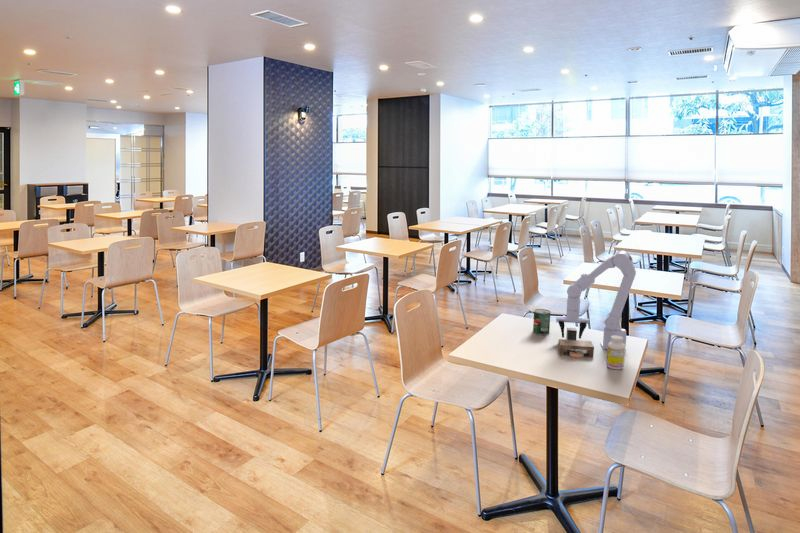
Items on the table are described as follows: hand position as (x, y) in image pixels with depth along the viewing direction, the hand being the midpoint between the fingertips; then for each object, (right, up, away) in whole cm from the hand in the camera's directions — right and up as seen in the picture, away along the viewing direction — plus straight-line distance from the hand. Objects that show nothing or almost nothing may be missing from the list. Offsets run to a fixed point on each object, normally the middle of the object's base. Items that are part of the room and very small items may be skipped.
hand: (571, 337), depth 256 cm
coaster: (-4, -6, -18) cm, 20 cm away
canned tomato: (-11, 0, +13) cm, 17 cm away
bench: (-3, -5, -15) cm, 16 cm away
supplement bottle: (+8, -8, -31) cm, 33 cm away
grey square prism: (-1, -3, -6) cm, 7 cm away
